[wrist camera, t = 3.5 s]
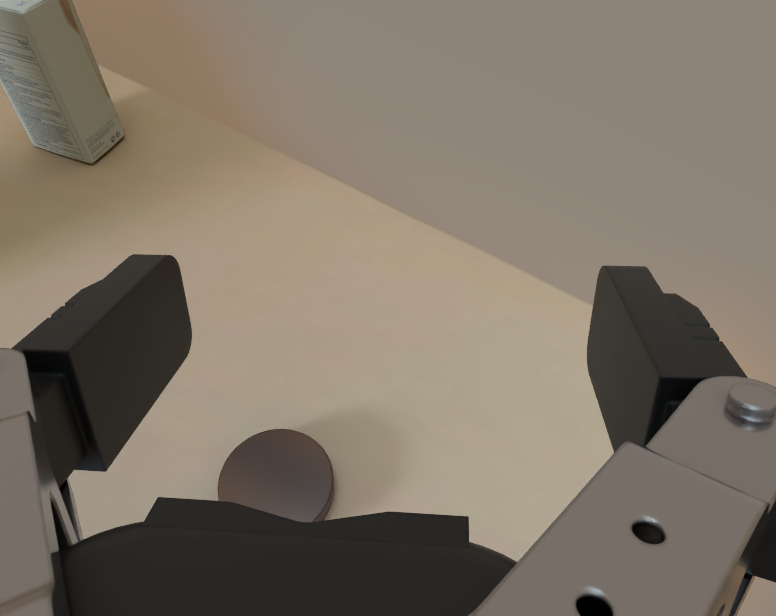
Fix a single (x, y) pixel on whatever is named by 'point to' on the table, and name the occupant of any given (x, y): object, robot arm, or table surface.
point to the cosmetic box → (55, 79)
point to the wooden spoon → (279, 476)
